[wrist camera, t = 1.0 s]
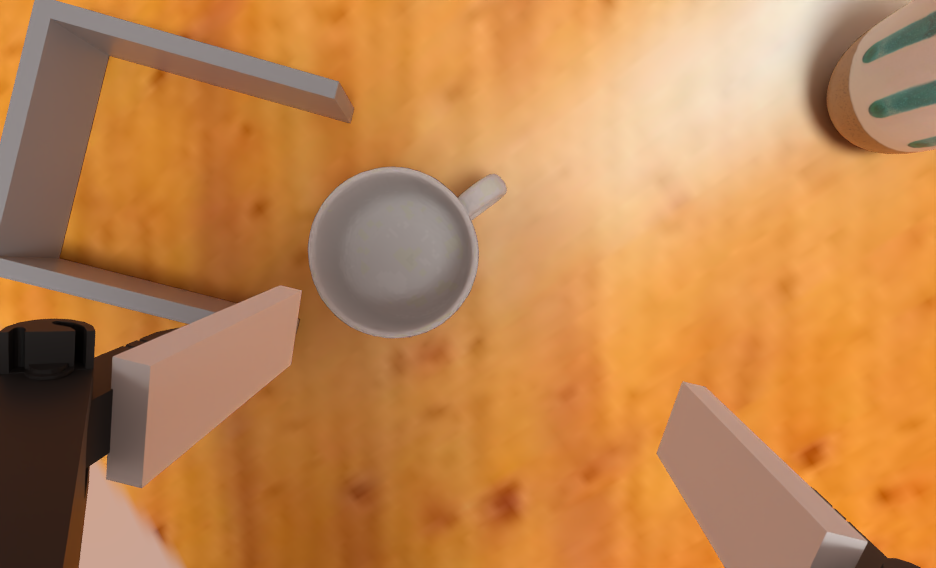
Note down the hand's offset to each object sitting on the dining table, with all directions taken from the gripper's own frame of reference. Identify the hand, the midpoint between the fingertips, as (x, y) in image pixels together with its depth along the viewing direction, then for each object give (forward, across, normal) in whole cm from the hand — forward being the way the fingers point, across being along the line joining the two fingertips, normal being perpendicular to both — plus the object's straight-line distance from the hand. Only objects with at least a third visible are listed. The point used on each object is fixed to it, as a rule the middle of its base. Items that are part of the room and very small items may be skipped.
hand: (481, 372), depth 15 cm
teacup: (+21, +6, 0) cm, 22 cm away
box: (+20, +24, -1) cm, 31 cm away
